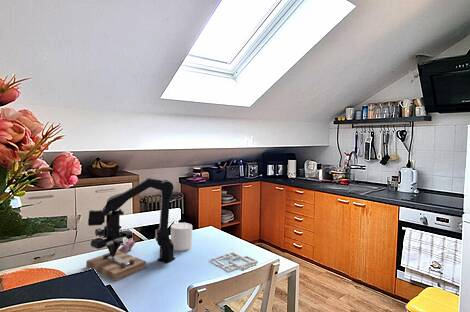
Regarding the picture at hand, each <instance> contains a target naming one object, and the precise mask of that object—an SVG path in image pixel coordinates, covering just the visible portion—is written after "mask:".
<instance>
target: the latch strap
mask: <svg viewBox="0 0 470 312" xmlns="http://www.w3.org/2000/svg"><path fill="white" fill-rule="evenodd" d="M107 259H109V260H111V261H113V262H116V263H118V264H120V265H121V263H125V266H127V265H129V264H131V262H128V261H126V260H124V259H121V258H119V257H116V256H114V257H111V256H108V257H107Z"/></svg>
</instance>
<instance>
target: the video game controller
mask: <svg viewBox="0 0 470 312" xmlns="http://www.w3.org/2000/svg"><path fill="white" fill-rule="evenodd" d="M135 244H136V241H135V240H133V239H130V240H127V241H125V243H124V244H123V245H122V246H121V247H119V248H118V251H120V252H123V253H125V254H127V252H130V251H131V250H132V248H133V247H134V245H135Z"/></svg>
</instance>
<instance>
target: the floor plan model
mask: <svg viewBox="0 0 470 312" xmlns="http://www.w3.org/2000/svg"><path fill="white" fill-rule="evenodd" d="M232 254H234V255H232ZM235 255H236V256H235ZM237 256H238V257H237ZM220 257H221V258H220ZM222 257H223V258H222ZM246 257H248V258H246ZM217 258H218V259H217ZM229 258H230V259H229ZM239 258H242V259H243V261H244V260H245V261H244V262H247V263H244V264H238V263H239V262H238V261H239V260H240V259H239ZM249 258H250V259H249ZM222 259H223V260H225V259H226V260H228V263H229V264H227V265H226V264H225V263H224V262H222V261H223V260H222ZM236 259H237V260H236ZM242 259H241V260H242ZM248 259H249V260H248ZM251 259H252V260H251ZM213 260H214V261H213ZM233 260H234V261H236V262H237V263H236V262H234V261H233ZM253 260H254V261H253ZM208 261H209V262H210V263H211V264H213V265H215V266H216V267H219V268H220V269H222V270H224V271H225V272H227V273H231V272H233V271H237V270H242V271H244V270H246V269H248V268H250V267H253V266H256V267H257V263H259V261H258V259H255V258H253V257H251V256H249V255H244V256H242V255H241V254H238V253H236V252H235V251H231V252H228V253H224V254H221V255H220V256H217V257H213V258H209V259H208ZM217 263H218V264H217ZM230 263H231V264H230ZM220 265H221V266H220ZM233 266H234V267H235V268H234V267H233ZM226 268H227V269H226ZM246 271H247V270H246Z"/></svg>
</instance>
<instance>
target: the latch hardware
mask: <svg viewBox="0 0 470 312" xmlns="http://www.w3.org/2000/svg"><path fill="white" fill-rule="evenodd" d="M102 255H103V259H107V257H108V256H111V255H110V252H107V253H105V254H102ZM130 262H131V264H132V265H133V264H134V260H133V259H130ZM121 268H125V263H121Z"/></svg>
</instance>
